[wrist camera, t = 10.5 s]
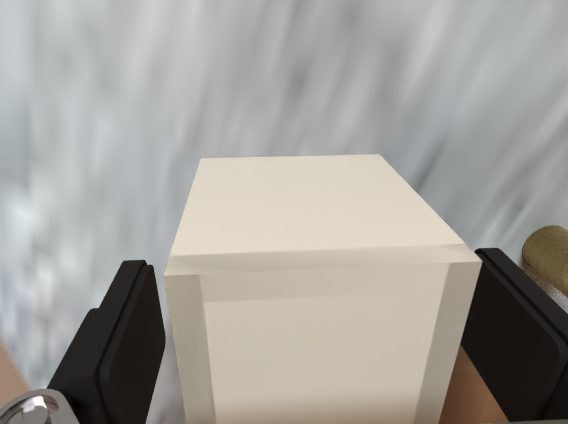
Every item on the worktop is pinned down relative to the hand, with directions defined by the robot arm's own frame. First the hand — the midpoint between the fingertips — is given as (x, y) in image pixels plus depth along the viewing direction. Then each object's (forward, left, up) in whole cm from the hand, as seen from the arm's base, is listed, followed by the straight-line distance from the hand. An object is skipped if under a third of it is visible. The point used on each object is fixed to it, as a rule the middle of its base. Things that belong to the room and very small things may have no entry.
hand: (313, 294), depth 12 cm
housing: (0, 0, -4) cm, 4 cm away
